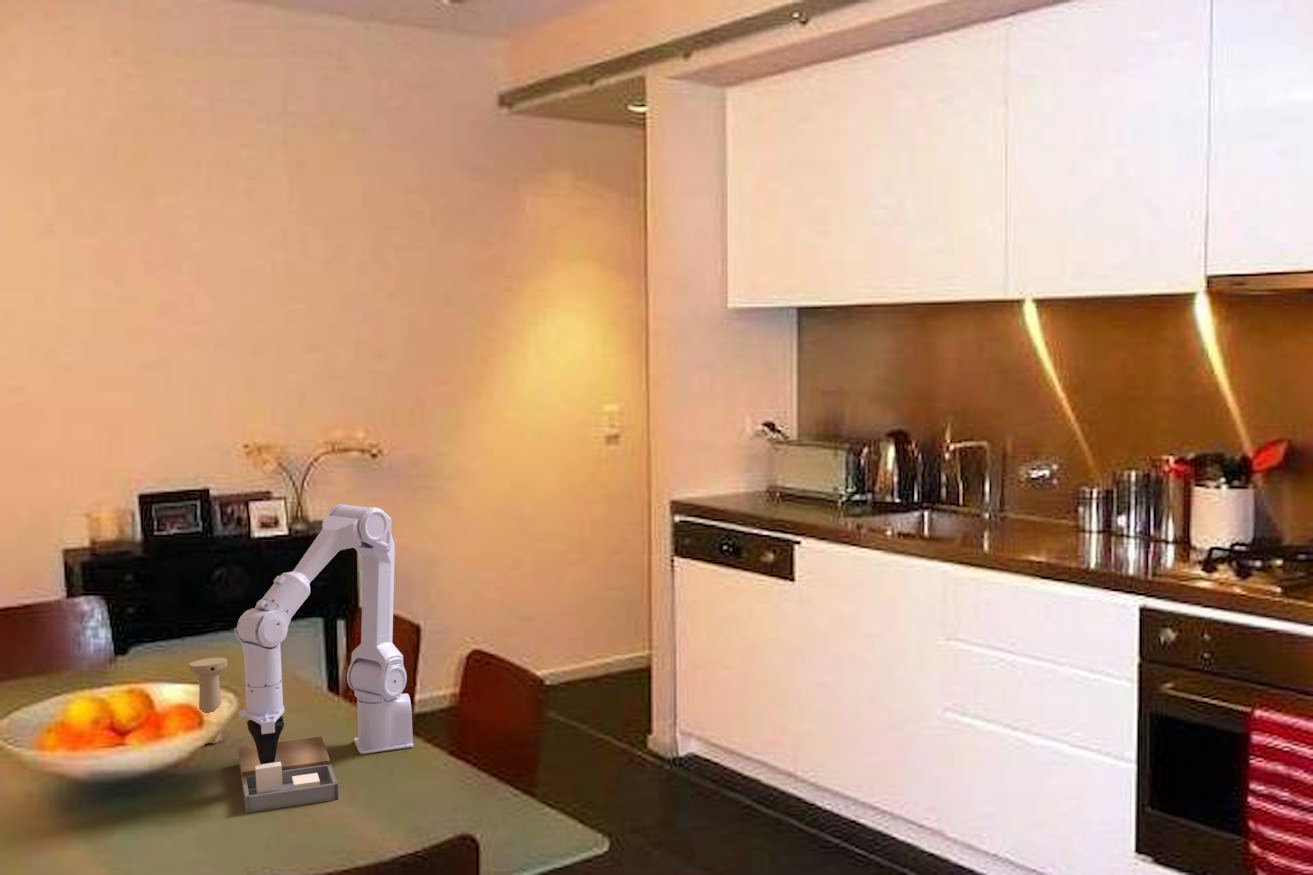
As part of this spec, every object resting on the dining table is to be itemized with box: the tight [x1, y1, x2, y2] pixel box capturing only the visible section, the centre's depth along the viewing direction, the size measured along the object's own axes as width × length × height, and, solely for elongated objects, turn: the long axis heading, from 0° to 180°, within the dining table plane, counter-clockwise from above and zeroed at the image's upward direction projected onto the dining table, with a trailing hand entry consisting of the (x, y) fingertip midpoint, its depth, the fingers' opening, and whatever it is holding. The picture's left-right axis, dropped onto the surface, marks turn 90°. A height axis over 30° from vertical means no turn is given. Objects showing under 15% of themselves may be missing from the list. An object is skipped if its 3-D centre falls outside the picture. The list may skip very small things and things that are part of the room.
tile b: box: [255, 762, 283, 793], centre depth 199 cm, size 4×4×2 cm
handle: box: [188, 657, 228, 744], centre depth 223 cm, size 5×6×15 cm
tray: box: [241, 763, 339, 814], centre depth 198 cm, size 14×10×2 cm
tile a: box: [292, 773, 320, 789], centre depth 198 cm, size 4×4×2 cm
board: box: [237, 736, 331, 789], centre depth 209 cm, size 14×13×3 cm
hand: (267, 763), depth 201 cm, fingers closed
